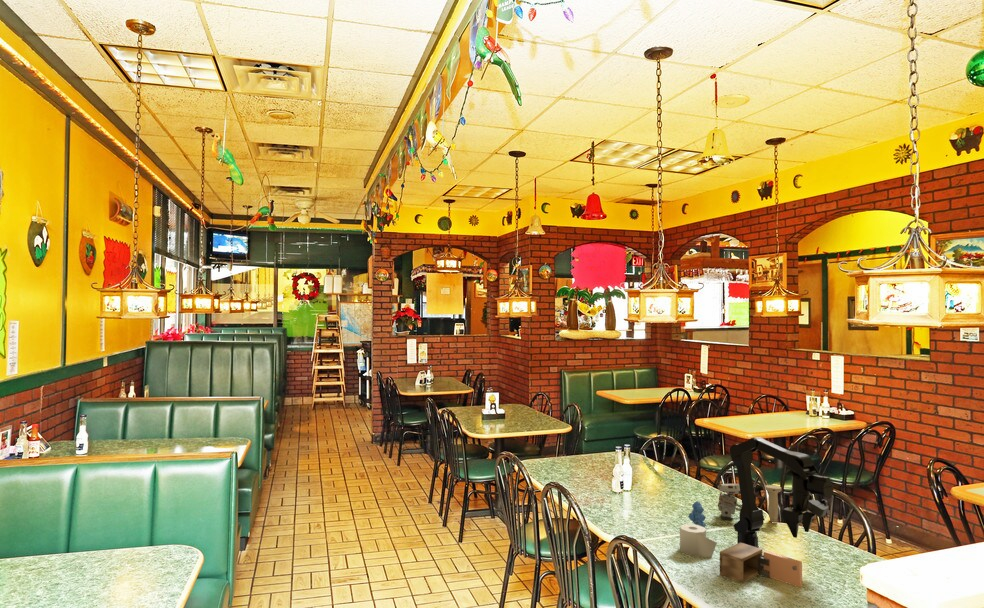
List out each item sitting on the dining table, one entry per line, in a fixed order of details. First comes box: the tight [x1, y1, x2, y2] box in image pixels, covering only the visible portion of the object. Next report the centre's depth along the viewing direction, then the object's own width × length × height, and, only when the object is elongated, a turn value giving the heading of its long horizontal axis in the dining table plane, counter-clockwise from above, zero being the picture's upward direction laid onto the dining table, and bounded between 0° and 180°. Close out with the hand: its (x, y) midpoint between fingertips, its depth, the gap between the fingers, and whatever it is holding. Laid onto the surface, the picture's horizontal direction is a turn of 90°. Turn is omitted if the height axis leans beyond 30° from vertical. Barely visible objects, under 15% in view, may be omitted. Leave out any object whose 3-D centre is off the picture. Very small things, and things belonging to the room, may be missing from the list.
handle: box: [764, 484, 782, 523], centre depth 262 cm, size 5×6×15 cm
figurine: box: [717, 482, 742, 521], centre depth 267 cm, size 9×12×15 cm
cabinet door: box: [763, 550, 803, 588], centre depth 202 cm, size 12×2×8 cm, turn 40°
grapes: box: [687, 500, 707, 529], centre depth 249 cm, size 12×7×12 cm, turn 178°
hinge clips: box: [758, 553, 770, 579], centre depth 207 cm, size 4×5×6 cm
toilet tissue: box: [679, 523, 718, 558], centre depth 227 cm, size 9×13×9 cm
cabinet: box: [719, 542, 763, 584], centre depth 207 cm, size 8×14×8 cm, turn 129°
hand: (800, 534), depth 212 cm, fingers open, 9 cm apart
